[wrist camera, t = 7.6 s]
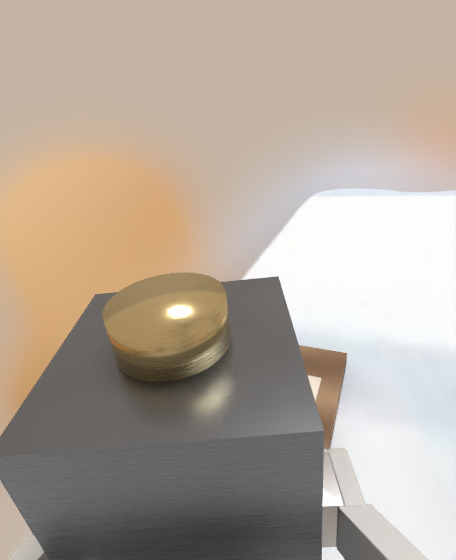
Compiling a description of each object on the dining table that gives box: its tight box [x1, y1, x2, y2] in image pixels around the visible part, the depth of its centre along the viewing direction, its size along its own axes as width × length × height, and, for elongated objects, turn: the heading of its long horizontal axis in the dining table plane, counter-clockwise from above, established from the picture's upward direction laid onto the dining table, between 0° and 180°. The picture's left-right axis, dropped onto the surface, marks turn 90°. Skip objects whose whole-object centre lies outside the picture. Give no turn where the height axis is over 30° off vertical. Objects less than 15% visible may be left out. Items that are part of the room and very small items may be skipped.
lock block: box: [0, 273, 324, 560], centre depth 10 cm, size 5×5×13 cm
